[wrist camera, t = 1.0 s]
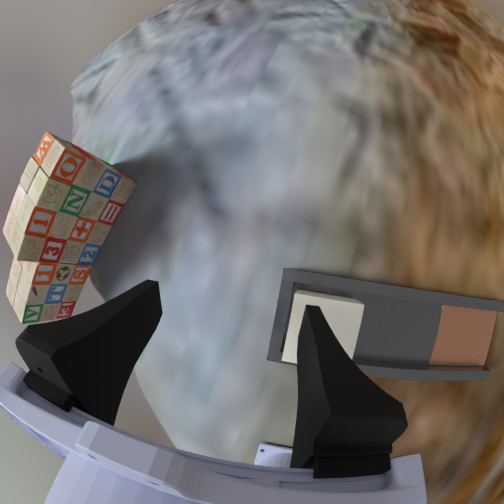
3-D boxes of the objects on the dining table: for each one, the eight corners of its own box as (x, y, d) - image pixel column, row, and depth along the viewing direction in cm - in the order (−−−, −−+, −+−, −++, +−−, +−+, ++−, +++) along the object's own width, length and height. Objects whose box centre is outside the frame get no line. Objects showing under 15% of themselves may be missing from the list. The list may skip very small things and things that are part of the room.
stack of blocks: (72, 318, 31) (2, 327, 19) (52, 290, 33) (-13, 292, 21) (138, 182, 30) (64, 146, 18) (112, 163, 31) (45, 129, 19)
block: (342, 350, 23) (348, 371, 17) (288, 342, 24) (281, 360, 18) (353, 297, 23) (364, 304, 17) (299, 288, 24) (294, 293, 19)
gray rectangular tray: (478, 373, 19) (488, 379, 17) (270, 352, 25) (266, 359, 22) (495, 300, 19) (507, 302, 17) (286, 268, 25) (283, 267, 23)
